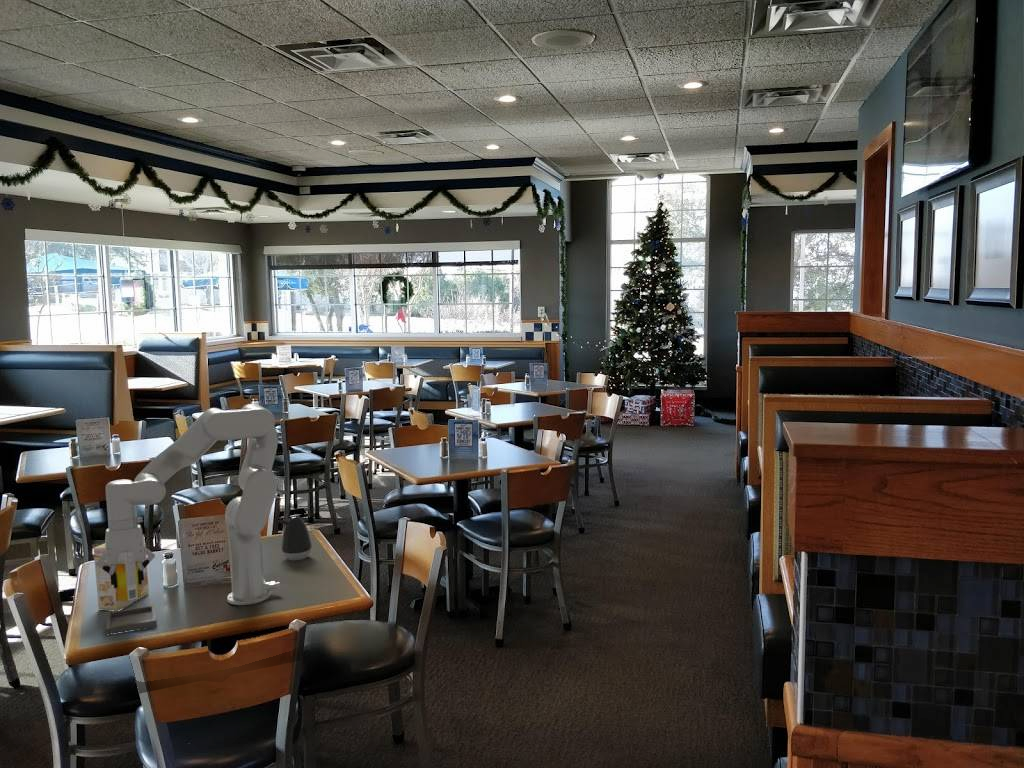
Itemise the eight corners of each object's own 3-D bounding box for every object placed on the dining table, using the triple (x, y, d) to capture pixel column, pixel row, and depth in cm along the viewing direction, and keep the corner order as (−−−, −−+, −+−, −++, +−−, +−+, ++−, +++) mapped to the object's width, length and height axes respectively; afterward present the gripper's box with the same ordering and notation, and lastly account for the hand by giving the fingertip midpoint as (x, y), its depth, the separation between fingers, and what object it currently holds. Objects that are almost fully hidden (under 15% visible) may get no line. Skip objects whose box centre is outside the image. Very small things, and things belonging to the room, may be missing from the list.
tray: (155, 611, 254) (155, 604, 253) (156, 626, 242) (156, 620, 241) (107, 619, 248) (106, 612, 248) (106, 635, 237) (105, 629, 236)
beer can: (134, 594, 248) (130, 544, 246) (145, 598, 244) (141, 548, 243) (114, 600, 244) (109, 549, 242) (124, 605, 240) (120, 553, 238)
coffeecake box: (118, 612, 253) (112, 549, 251) (97, 610, 255) (91, 547, 253) (150, 593, 268) (145, 533, 265) (130, 592, 270) (125, 532, 267)
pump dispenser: (282, 555, 302) (280, 513, 300) (312, 552, 304) (310, 511, 302) (280, 564, 292) (277, 521, 290) (311, 562, 294) (309, 519, 292)
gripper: (155, 516, 248) (160, 576, 250) (89, 524, 241) (95, 585, 243) (156, 522, 241) (160, 584, 244) (88, 531, 234) (94, 594, 237)
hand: (127, 584), depth 243 cm, fingers closed on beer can, 5 cm apart
